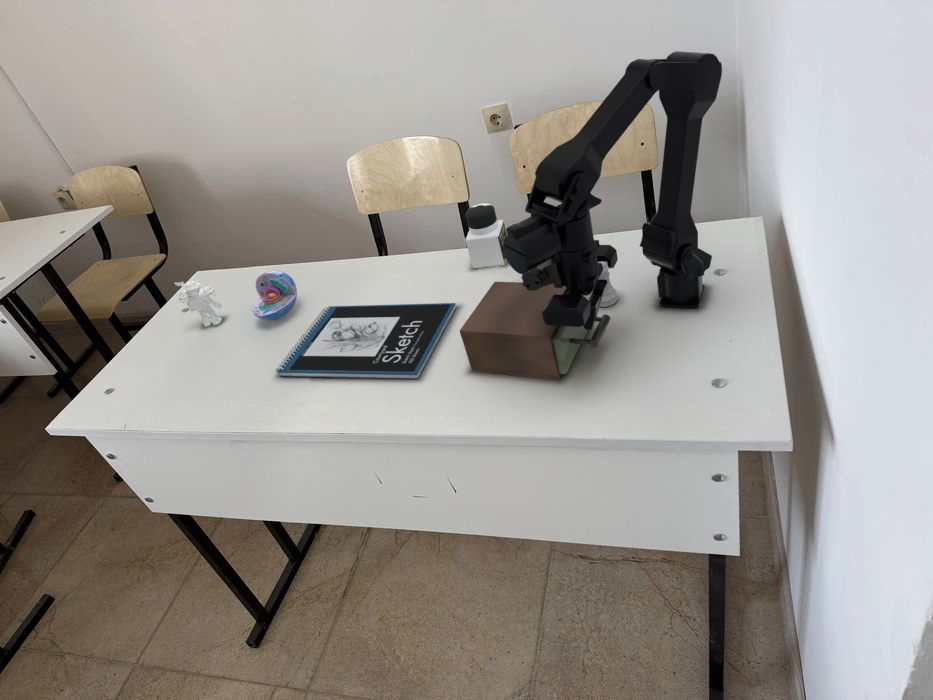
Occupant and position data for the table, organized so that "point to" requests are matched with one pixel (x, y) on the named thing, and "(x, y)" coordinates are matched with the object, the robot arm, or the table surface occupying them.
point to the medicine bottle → (485, 236)
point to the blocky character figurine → (200, 301)
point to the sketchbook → (369, 341)
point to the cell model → (274, 295)
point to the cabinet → (512, 332)
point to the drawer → (575, 341)
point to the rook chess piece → (607, 288)
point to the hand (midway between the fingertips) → (589, 328)
